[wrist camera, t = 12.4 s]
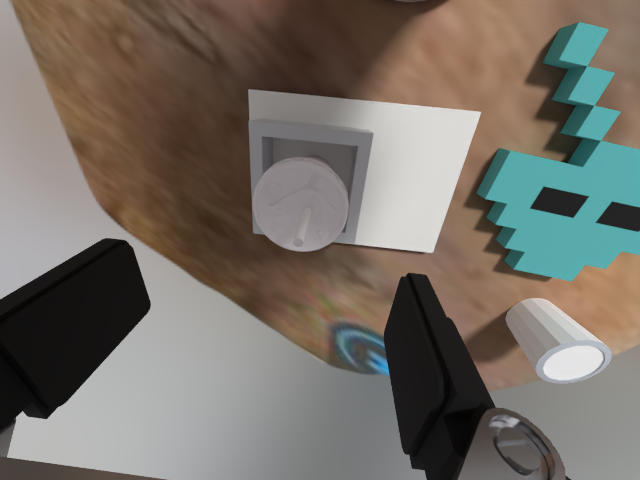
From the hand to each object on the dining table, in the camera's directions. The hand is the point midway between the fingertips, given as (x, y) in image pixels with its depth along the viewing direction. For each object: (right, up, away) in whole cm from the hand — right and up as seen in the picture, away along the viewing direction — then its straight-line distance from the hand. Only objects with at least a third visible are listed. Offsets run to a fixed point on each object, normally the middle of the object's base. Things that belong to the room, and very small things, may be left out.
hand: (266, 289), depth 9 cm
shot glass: (+29, -8, +24) cm, 38 cm away
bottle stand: (+5, +8, +17) cm, 19 cm away
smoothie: (+1, +8, +16) cm, 18 cm away
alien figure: (+28, +8, +16) cm, 33 cm away
